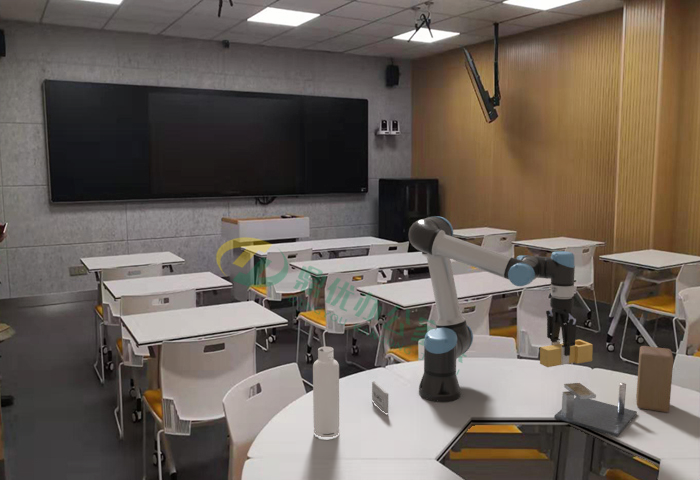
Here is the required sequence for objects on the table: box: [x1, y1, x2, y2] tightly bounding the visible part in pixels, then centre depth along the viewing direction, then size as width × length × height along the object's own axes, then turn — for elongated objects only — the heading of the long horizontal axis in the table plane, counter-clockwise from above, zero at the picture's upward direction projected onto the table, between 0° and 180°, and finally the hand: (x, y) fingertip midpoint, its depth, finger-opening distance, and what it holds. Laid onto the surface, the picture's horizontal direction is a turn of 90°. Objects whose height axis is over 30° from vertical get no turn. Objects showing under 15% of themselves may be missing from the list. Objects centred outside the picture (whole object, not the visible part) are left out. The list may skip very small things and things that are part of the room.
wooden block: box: [635, 345, 674, 413], centre depth 204 cm, size 10×10×20 cm
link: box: [539, 339, 594, 368], centre depth 205 cm, size 18×6×6 cm, turn 110°
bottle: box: [312, 346, 340, 437], centre depth 183 cm, size 8×8×28 cm
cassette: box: [371, 381, 389, 414], centre depth 203 cm, size 12×2×8 cm, turn 21°
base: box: [554, 382, 638, 438], centre depth 196 cm, size 20×21×11 cm
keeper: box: [561, 382, 597, 418], centre depth 195 cm, size 8×10×10 cm
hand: (560, 361), depth 205 cm, fingers closed on link, 4 cm apart
